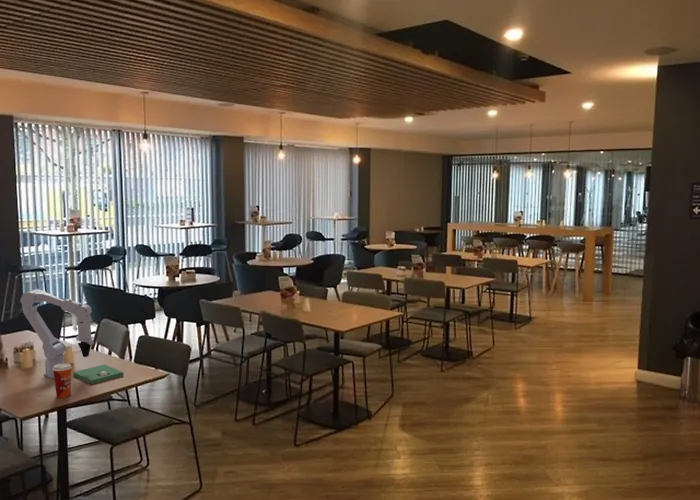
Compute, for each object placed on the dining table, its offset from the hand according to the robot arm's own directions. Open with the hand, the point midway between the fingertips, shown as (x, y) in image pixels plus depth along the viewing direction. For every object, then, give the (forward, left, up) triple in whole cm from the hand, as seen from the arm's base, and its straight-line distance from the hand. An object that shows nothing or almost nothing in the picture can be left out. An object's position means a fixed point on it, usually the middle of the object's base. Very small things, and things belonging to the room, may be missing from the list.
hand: (85, 356), depth 286 cm
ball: (+12, +3, -8) cm, 14 cm away
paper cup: (+21, -20, -10) cm, 31 cm away
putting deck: (+6, +3, -9) cm, 12 cm away
